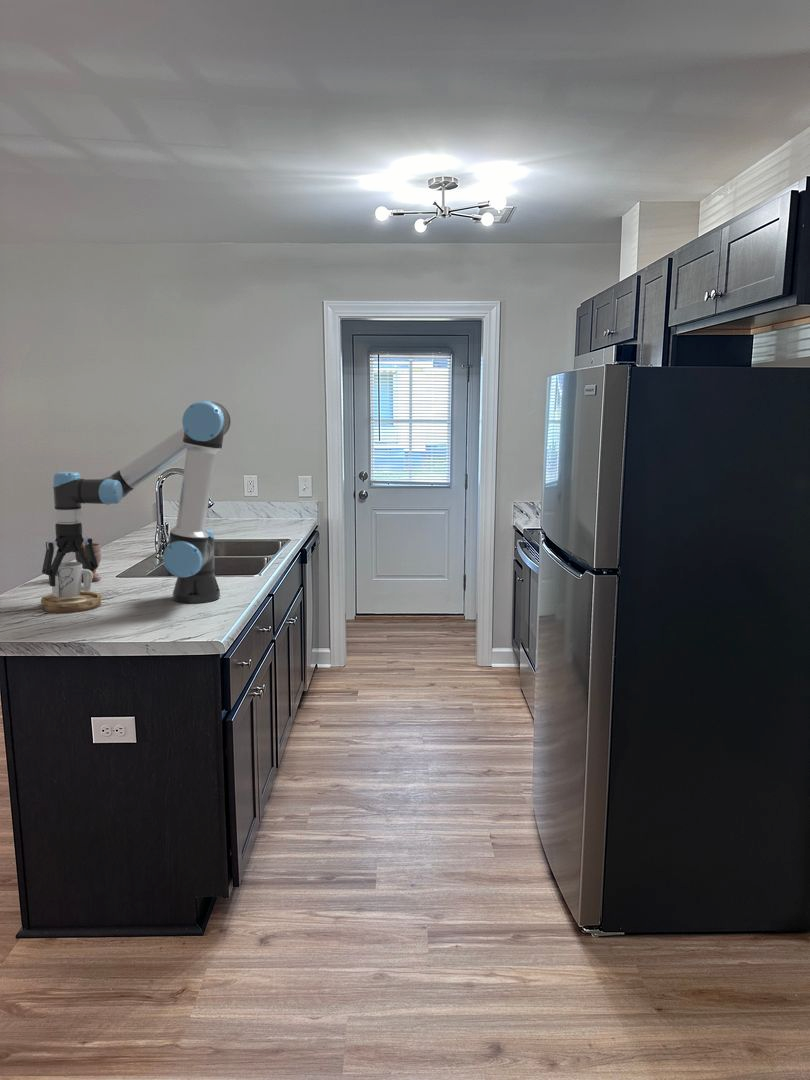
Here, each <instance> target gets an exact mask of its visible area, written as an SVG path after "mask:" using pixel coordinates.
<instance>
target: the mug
mask: <svg viewBox="0 0 810 1080" xmlns="http://www.w3.org/2000/svg"><path fill="white" fill-rule="evenodd" d="M83 573H88V575H89V579H88V586H87V587H84V585H82V583H83V582H82V574H83ZM56 575H57V576H58V582H59V597H60V598H72V597H77V596H79V594H80V591H87V590H89V589H90V590H91V588H92V583H93V582H92V578H93V573H92V571H90V570H88V569H83V568H82V563H79V562H77V561H63V562H61V564H60V566H59V567H58V570H57V573H56Z"/></svg>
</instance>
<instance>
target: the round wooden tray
mask: <svg viewBox="0 0 810 1080" xmlns="http://www.w3.org/2000/svg"><path fill="white" fill-rule="evenodd" d="M40 604H41V610H42V611H45V612H48V613H53V614H55V613H56V614H70V613H71V614H72V613H83V612H88V611H92V610H95V609H98V608H99V607H101V606H102V593H98V592H95V591H90V592H86V591H80V594H79V596H77V597H72V598H60V597H55V596H53V595H52V593H51V594H47V595H44V596H42V597H41V599H40Z"/></svg>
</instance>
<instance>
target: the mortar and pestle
mask: <svg viewBox="0 0 810 1080" xmlns="http://www.w3.org/2000/svg"><path fill="white" fill-rule="evenodd" d="M101 546H102V543H99V542H98V543H96V542H92V547H93V550H94V554H95V557H96V561H97V564H98V567H99V566H100V563H101V559H102V551H101V549H102V547H101ZM80 547H81V548H82V550H83V553H84V555H85V556H86V558H87V560H88V561H89V559H88V555H87V552H86V548H85V545H84V543H82V545H81V546H80ZM74 555H75V562H79V563H81V561H80V559H79V558H78V556H77V554H76V553H75V552H74ZM89 563H90V562H89ZM82 568H83V569H85V568H84V566H83V564H82ZM97 569H98V568H95V569H94V571H92V573H93V578H92V583H93V582H99V581H100V580H102V579H101V575H100V574H99V573H97ZM81 583H83V574H82V582H81Z"/></svg>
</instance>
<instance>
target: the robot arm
mask: <svg viewBox="0 0 810 1080" xmlns="http://www.w3.org/2000/svg"><path fill="white" fill-rule="evenodd" d="M231 422H232V421H231V416H230V413H229V410H227V408H225V406H224V405H222V404H220V403H218V402H214V401H208V400H199V401H196V402H194V403H192V404H190V405H189V406H188V407H186V410H185V411H184V412H183V416H182V423H181V424H182V427H181V428H180V429H178V430H176V431H174V433H172V434H170V435H169V436H168V437H166V438H165V439H164V440H162V441H160V442H158V444H156V445H155V446H153V447H152V448H150V449H148V450H147V451H145V452H144V453H142V454H140V455H139V456H138V457H136V458H135V459H134V460H132V461H131V462H129V463H128V464H126V465H124V466H123V467H122V468H120V469H119V470H117V471H115V472H113V474H111V475H110V476H108V477H103V478H92V479H91V478H90V479H89V478H87V479H86V478H82V477H81V474H80V473H79V472H77V471H59V472H58V471H57V472H55V473H54V474H53V485H52V488H53V499H54V500H53V501H54V521H55V522H56V523H55V524H54V525H55V540H53V541H46V542H45V549H46V551H45V554H44V559H43V564H42V569H41V573H42V574H43V575H47V576H48V585H49V586H50V587H51V591H52V593H51V594H52V595H53V596H55V597H59V582H58V576H57V575H56V573H57V570H58V567H59V566H60V564H61V562H62V561H63V559H64V557H65V556H66V554H70V553H74V554H75V553H76V554H77V556H78V558H79V559H80V561H81V563H82V564H83V566H84V568H85V569H88V570H90V571H94V569H95V568H97V569H98V568H99V566H98V564H97V561H96V557H95V554H94V550H93V547H92V543H93V538H89V537H85V538H84V537H83V523H81V522H82V520H83V517H82V504H83V505H84V504H96V505H102V504H103V505H108V506H109V505H117V504H119V503H120V502H121V501H122V499H123V498H125V497H127V496H128V495H129V493H130V492H132V491H133V490H134V489H136V488H138V487H139V486H141V485H142V484H144V483H145V482H146V481H148V480H150V479H151V478H153V477H155V475H157V474H159V473H160V472H163V470H164V469H166V468H168V467H169V466H170V465H173V464H174V463H175V462H177V461H178V460H179V459H182V458H183V457H185V460H184V468H183V475H182V483H181V488H180V489H181V490H180V496H179V503H178V510H177V516H176V517H177V518H176V525H175V526H174V527H173V528H171V529H170V530H169V536H168V544H167V546H166V547H165V549H164V551H163V555H162V562H163V566H164V567H165V568H166V570H167V571H168V573H170V574H171V575H173V576H175V577H176V580H175V585H174V588H173V590H172V599H173V600H174V601H175V602H179V603H187V604H198V603H199V604H200V603H208V602H209V601H210V602H214V601H217V600H219V599H220V598H221V590H220V587H219V584H218V582H217V581H218V580H217V577H216V576H215V540H216V539H215V535H214V531H212V530H211V529H206V528H205V527H206V523H207V515H208V508H209V502H210V495H211V487H212V481H213V475H214V469H215V462H216V457H217V456H216V455H217V453H218V452H220V451H221V450H222V448H223V442H224V437H225V435H226V434H227V433H228V431H229V430H230V428H231ZM82 543H84V545H85V548H86V552H87V555H88V559H89V561H88V560H87V558H86V556H85V555H84V553H83V550H82V548H81V547H80V546H81V545H82ZM56 547H57V550H56V554H55V557H54V553H55V548H56ZM53 558H54V559H53ZM89 562H90V563H89ZM88 579H89V575H88V573H83V582H82V583H83V587H87V586H88ZM86 592H91V588H90V589H89V590H87V591H86ZM219 597H220V598H219ZM218 598H219V599H218ZM216 599H217V600H216ZM213 600H214V601H213ZM210 602H209V603H210Z"/></svg>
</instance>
